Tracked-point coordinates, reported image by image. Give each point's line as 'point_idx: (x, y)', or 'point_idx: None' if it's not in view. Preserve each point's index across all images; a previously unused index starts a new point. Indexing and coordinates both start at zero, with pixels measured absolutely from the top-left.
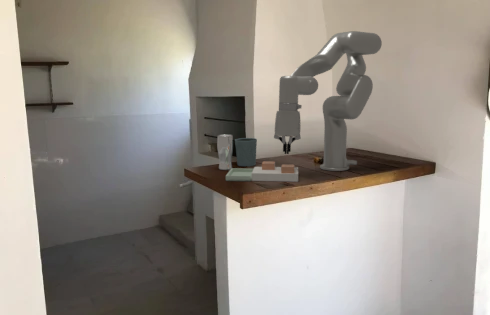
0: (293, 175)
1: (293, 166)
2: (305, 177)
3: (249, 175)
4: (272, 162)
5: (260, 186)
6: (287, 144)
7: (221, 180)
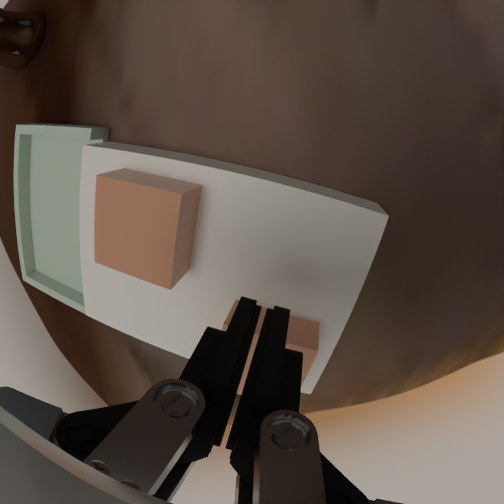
0: None
1: None
2: (390, 292)
3: None
4: (159, 234)
5: (148, 380)
6: (230, 448)
7: None
